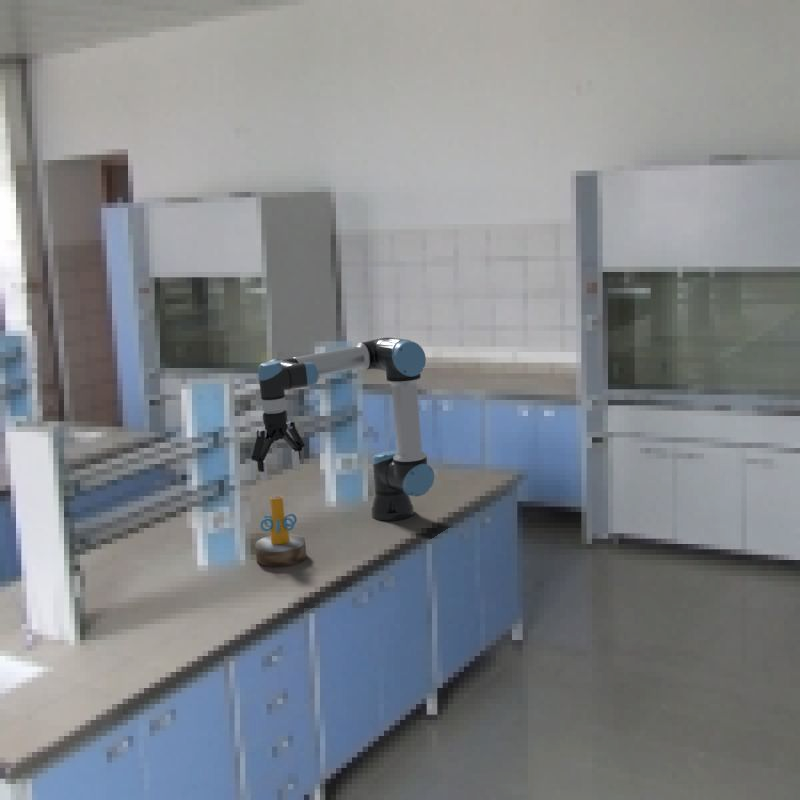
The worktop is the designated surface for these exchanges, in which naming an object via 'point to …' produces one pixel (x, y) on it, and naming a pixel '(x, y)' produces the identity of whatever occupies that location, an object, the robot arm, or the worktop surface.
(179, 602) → the worktop surface
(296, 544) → the pedestal
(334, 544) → the worktop surface
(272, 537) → the orange upright piece
